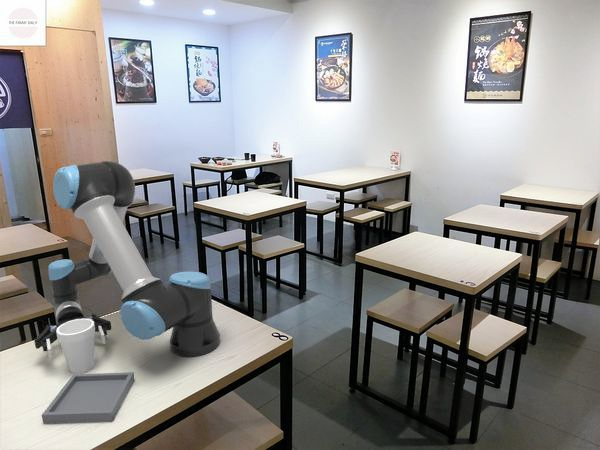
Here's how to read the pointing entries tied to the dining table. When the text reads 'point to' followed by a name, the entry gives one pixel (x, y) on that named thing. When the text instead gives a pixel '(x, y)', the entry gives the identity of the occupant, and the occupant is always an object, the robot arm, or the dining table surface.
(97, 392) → the serving tray
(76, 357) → the foam cup
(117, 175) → the robot arm
